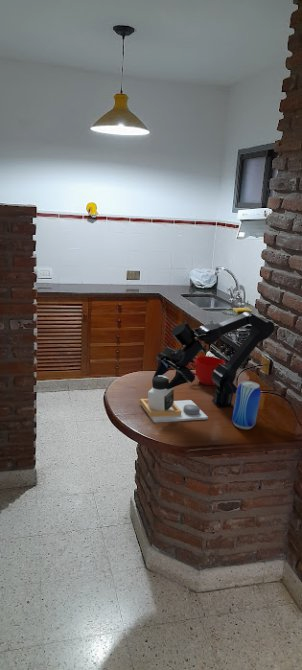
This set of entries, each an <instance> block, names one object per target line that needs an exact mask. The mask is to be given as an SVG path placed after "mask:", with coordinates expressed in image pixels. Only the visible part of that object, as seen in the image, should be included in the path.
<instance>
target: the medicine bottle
mask: <svg viewBox="0 0 302 670" xmlns="http://www.w3.org/2000/svg"><path fill="white" fill-rule="evenodd" d="M153 377H154V376H153ZM153 377H152V380H151V382H152V383H151V384H152V386H151V389H149V391H148V392H147V399H148V406H149V408H150V409H152V410H156V411H167V410H168V409H170V408H171V407H172V406H173V405H174V401H175V400H174V397H175V396H174V395H175V394H174V392H175V391H174V389H175V388H174V387H173V388H171V389H168V390H167V389H166V387H167V385H168V384H169V383H170V379H169V377H167V376H166V375H160V376H155V377H154V378H153Z"/></svg>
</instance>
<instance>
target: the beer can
mask: <svg viewBox="0 0 302 670" xmlns="http://www.w3.org/2000/svg"><path fill="white" fill-rule="evenodd" d="M235 394H236V395H235V401H234V404H233V413H232V418H231V421H232V423H233V425H234V426H235V427H237V428H238V429H241V430H250V429H252V428H253V427H254V426H255V425H256V422H257V417H258V411H259V405H260V402H261V395H262V391H261V389H260V384H259V383H257V382H254V381H251V380H243V381H241V382H240V384H239V385H238V386H237V391H236V393H235Z"/></svg>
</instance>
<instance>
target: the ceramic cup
mask: <svg viewBox="0 0 302 670" xmlns="http://www.w3.org/2000/svg"><path fill="white" fill-rule="evenodd" d="M219 364H221V365H224V364H226V361H225V360H223V359H221V358H220V357H219V358H218V357H215V356H210V355H209V356H208V355H201V356H196V357H195V362H193V363H192V364H191V363H189V364H188V365H187V368H189V366H190V365H193V366H194V368H195V369H194V370H195V372H193V371H192V373H193V374H194V375H195V377H196V378H197V379H198V380H199V382H200V383H201V384H203V385H205V386H215V384H214V382H213V380H212V374H213V373H214V372H213V371H214V370H215V369H216V368H217V366H218V365H219Z"/></svg>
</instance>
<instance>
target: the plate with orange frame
mask: <svg viewBox="0 0 302 670" xmlns="http://www.w3.org/2000/svg"><path fill="white" fill-rule="evenodd" d="M139 404H140V406H141V407H142V408H143V409H144V411H145V412H146V414H147V415H148V417H150V419H151V420H152V421H153V422H154V423H157V424H158V423H168V422H169V423H170V422H183V421H184V422H186V421H198V420H199V421H201V420H202V421H203V420H208V419H209V416H207V414H205V413H204V411H203V410H201V408H200V407H199V406H198V405H197V404H196V403H195V402H194V401H192V400H191V399H184V400H174V405H173V406H172V407H171V408H170V409H168V410H167V411H156V410H152V409H150V408H149V406H148V398H140V399H139Z"/></svg>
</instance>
